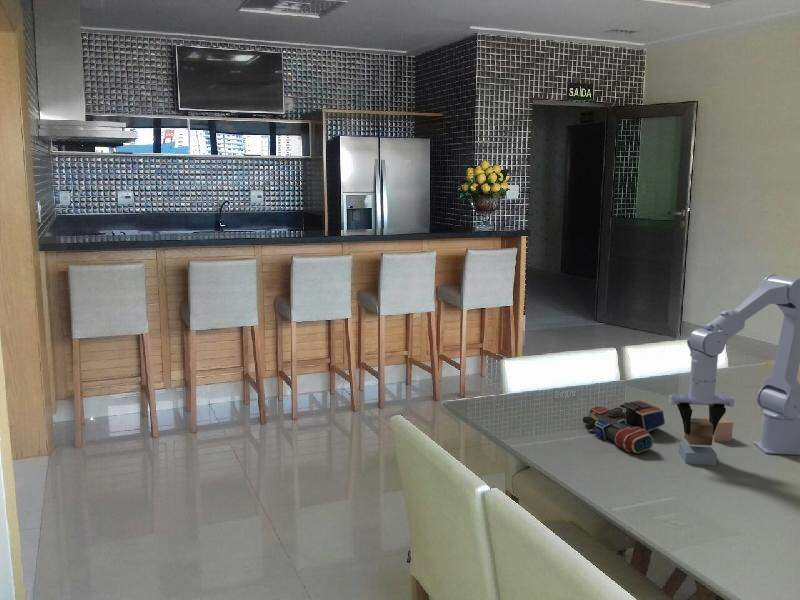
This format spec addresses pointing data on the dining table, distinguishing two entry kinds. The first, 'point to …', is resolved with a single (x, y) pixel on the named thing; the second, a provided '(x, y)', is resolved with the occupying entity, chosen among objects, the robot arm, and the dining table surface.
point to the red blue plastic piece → (626, 424)
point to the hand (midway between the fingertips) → (698, 433)
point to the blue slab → (697, 454)
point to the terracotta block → (723, 430)
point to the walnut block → (700, 432)
